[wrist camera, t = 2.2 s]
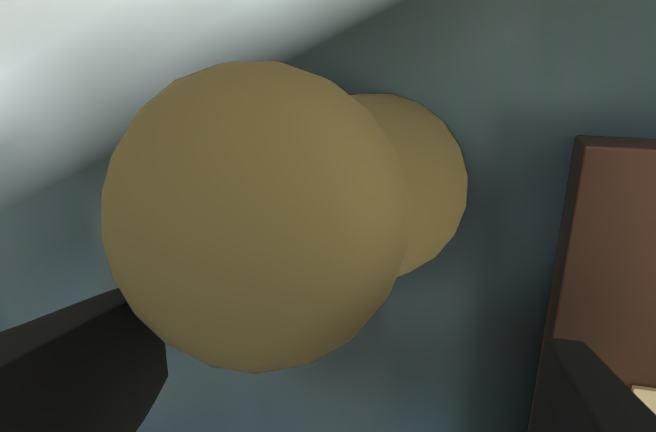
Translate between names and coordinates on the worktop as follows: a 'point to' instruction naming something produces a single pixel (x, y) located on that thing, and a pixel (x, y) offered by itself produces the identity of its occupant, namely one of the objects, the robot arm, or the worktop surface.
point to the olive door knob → (274, 211)
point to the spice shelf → (609, 260)
